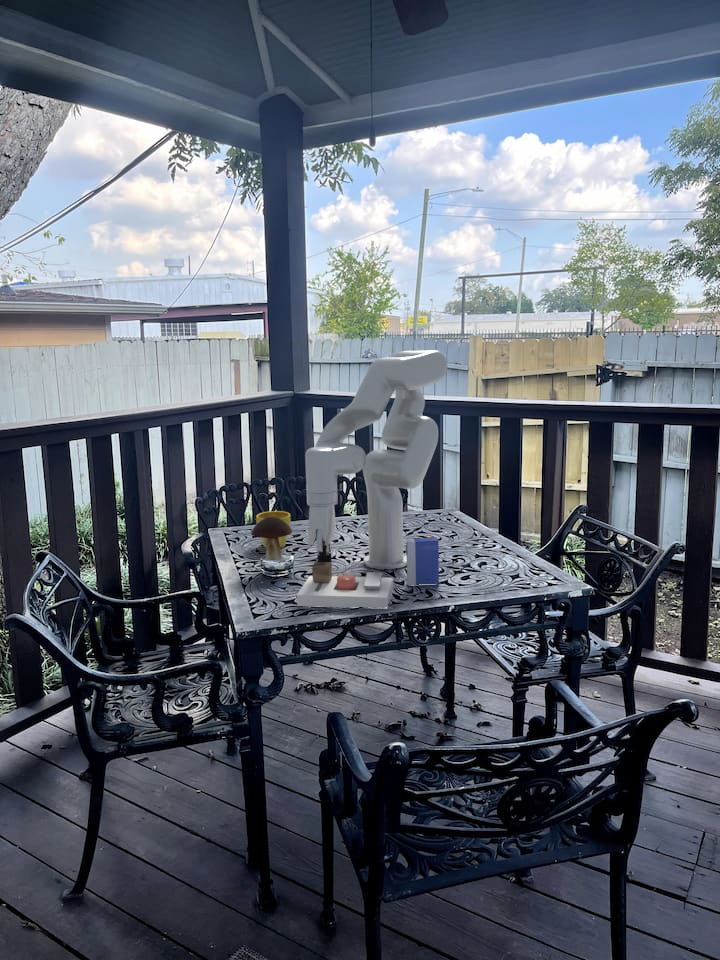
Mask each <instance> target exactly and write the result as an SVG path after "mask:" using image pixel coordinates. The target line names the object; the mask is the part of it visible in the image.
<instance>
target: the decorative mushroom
mask: <svg viewBox="0 0 720 960" xmlns="http://www.w3.org/2000/svg"><path fill="white" fill-rule="evenodd" d="M292 533H293V530H292V528H291V525H290V526H289V525H288V524H287V523H286V522H284V521H283V520H282V519H280V518H277V517H272V516H271V517H267V518H265V519H263V520H261V521H260V522H259V523H257V524H255V525H254V527H253V529H252V531H251V536H252V537H253V536H254V537H256V538H257V537H258V538H261V537H263V538H267V542H266V548H265V561H266V560H280V559H282V551H281V548H280V544H279V540H278V537H283V536H286V535H287V536H289V535H291V534H292Z"/></svg>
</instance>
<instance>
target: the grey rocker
mask: <svg viewBox="0 0 720 960" xmlns="http://www.w3.org/2000/svg"><path fill="white" fill-rule="evenodd" d="M365 577H366V579H365V583H364V589H380V584H381V579H382V577H383V572H371V571H367V572H366V575H365Z"/></svg>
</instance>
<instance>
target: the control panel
mask: <svg viewBox="0 0 720 960" xmlns="http://www.w3.org/2000/svg"><path fill="white" fill-rule="evenodd" d="M339 576H340V575H339ZM339 576H334V575H332V578H331V580H330V582H313V575H309V577H308V578H307V579H306V581H305V582H304V584H303V585H302V587H300V590H299V591H298V593H297V595H296V600H297V607H298V606H333V607H334V606H335V607H341V606H342V607H388V608H389V606H388V604H389V605H390V603H389V600H390V601H391V599H390V597H391V598H392V596H391V593H392V594H393V592H392V590H393V591H394V577H383V576H382V579H381V584H380V589H364V583H365V579H366V576H355V579H356V590H337V577H339Z"/></svg>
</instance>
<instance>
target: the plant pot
mask: <svg viewBox="0 0 720 960" xmlns="http://www.w3.org/2000/svg"><path fill="white" fill-rule="evenodd" d="M271 516H272V517H277V518H280V519H282V520H283V521H284V522H286V523H287V524H288V525H289V526H290V527H291V513H289V512H288V511H287V512H286V511H282V510H279V511H278V510H273V511H272V510H270V511H263V512H260V513H258V514H257V515H256V516H255V520H256V524H257V523H259V522H260V521H261V520H263V519H265V518H267V517H271ZM256 524H255V525H256ZM287 537H288V535H286V536H283V537H278V540H279V544H280V549H281V548H284V547H285V546H286V543H287ZM260 538H261V542H262V545H263V547H264V548H265V549H266V542H267V538H263V537H260Z"/></svg>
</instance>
